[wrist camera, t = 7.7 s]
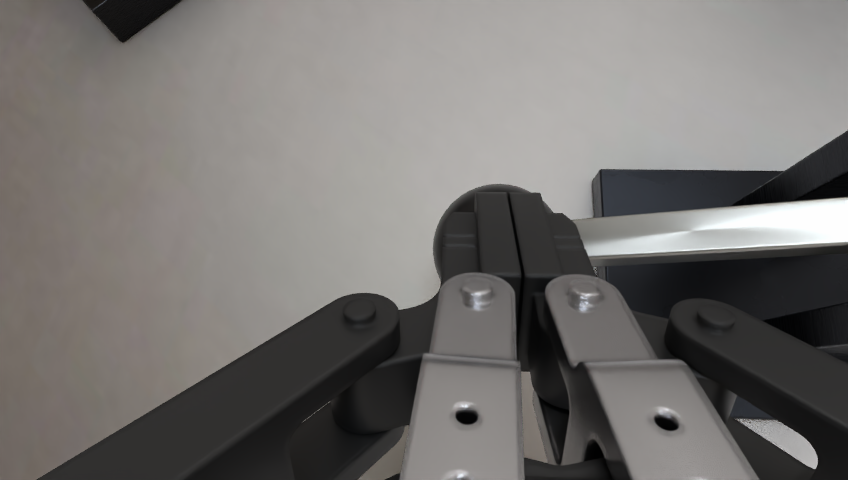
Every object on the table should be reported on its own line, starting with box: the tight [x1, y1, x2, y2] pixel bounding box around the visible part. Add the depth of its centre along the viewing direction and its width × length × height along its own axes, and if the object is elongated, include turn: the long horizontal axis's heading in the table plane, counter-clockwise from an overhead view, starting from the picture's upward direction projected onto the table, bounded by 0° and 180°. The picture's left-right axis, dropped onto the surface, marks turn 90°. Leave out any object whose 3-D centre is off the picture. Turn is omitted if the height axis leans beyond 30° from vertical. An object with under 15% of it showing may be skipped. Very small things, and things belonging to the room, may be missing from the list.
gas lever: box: [433, 184, 848, 279], centre depth 13 cm, size 14×4×4 cm, turn 89°
